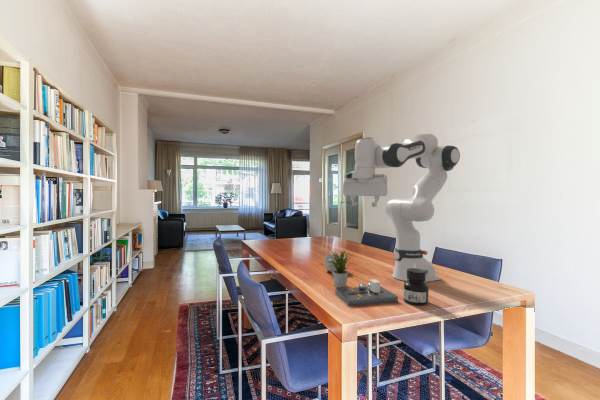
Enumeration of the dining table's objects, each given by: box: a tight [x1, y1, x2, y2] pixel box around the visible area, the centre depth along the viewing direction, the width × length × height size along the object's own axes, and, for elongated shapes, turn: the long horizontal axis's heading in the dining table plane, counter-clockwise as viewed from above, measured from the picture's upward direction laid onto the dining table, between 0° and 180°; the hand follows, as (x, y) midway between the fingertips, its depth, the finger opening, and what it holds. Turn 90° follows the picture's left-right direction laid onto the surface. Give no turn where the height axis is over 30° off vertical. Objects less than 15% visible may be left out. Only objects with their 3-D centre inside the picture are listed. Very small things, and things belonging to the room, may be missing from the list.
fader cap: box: [369, 278, 381, 293], centre depth 119 cm, size 2×4×4 cm, turn 13°
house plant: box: [326, 249, 354, 288], centre depth 135 cm, size 14×14×16 cm
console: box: [334, 282, 399, 307], centre depth 118 cm, size 20×14×4 cm
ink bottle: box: [402, 268, 430, 306], centre depth 114 cm, size 10×9×12 cm
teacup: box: [324, 253, 345, 273], centre depth 157 cm, size 14×11×8 cm
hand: (364, 206), depth 132 cm, fingers open, 8 cm apart
